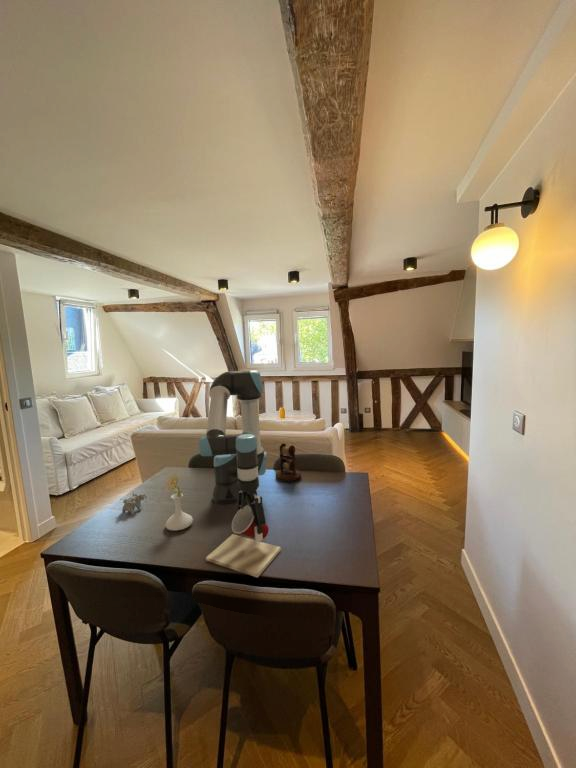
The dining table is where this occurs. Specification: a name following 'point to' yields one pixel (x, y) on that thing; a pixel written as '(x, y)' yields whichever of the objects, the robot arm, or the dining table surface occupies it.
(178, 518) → the flower in vase
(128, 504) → the elephant statuette
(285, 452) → the brown wooden upright piece
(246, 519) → the plastic cup
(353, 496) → the dining table surface
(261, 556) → the birch board
